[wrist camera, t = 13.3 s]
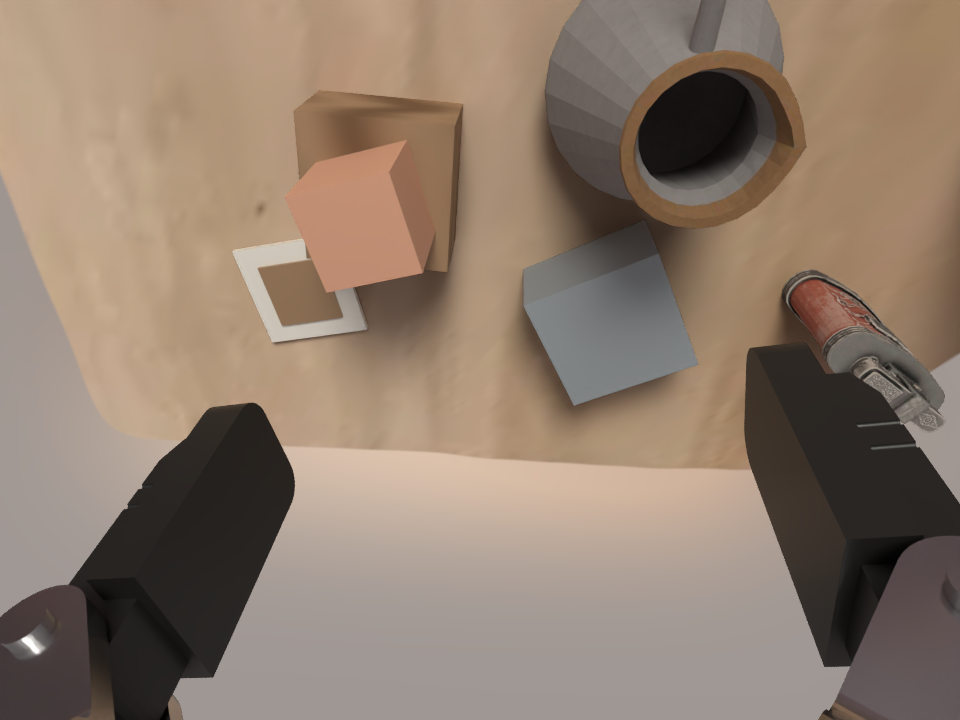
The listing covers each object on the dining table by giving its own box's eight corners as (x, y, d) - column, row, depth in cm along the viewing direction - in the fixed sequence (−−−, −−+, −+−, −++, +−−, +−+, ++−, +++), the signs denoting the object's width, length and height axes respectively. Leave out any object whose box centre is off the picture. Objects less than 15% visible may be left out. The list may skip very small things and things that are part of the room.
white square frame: (336, 232, 40) (334, 236, 39) (368, 326, 44) (366, 331, 43) (234, 249, 41) (231, 253, 40) (274, 339, 45) (271, 344, 44)
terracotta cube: (407, 139, 32) (388, 171, 28) (435, 231, 34) (422, 273, 30) (315, 162, 33) (284, 196, 28) (350, 249, 35) (326, 292, 31)
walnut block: (463, 103, 35) (454, 126, 31) (455, 236, 40) (447, 272, 36) (320, 89, 35) (293, 111, 31) (329, 224, 40) (306, 258, 36)
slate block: (644, 218, 38) (658, 253, 34) (681, 321, 42) (698, 364, 38) (523, 267, 41) (523, 305, 37) (569, 361, 45) (573, 405, 40)
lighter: (895, 324, 41) (987, 424, 33) (851, 359, 43) (928, 462, 35) (812, 257, 39) (889, 346, 31) (768, 296, 41) (830, 391, 32)
